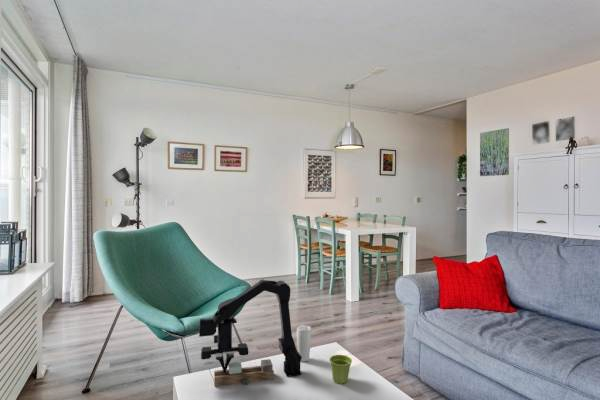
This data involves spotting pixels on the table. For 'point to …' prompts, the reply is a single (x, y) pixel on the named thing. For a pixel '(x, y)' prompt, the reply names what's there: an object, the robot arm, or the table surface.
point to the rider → (235, 367)
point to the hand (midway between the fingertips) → (224, 371)
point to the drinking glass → (304, 341)
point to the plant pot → (340, 368)
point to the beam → (245, 375)
